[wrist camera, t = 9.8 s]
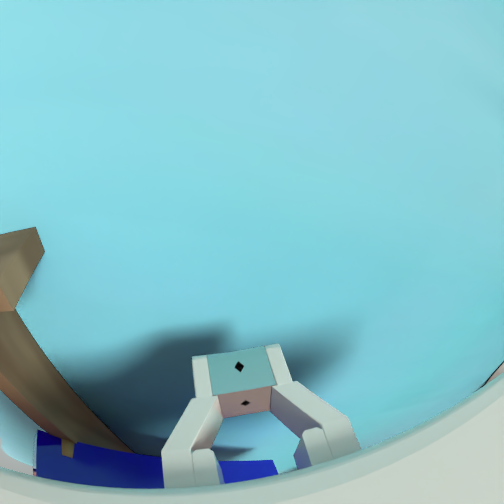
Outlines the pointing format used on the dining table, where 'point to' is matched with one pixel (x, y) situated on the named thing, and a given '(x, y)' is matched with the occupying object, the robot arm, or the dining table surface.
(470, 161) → the dining table surface
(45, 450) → the mounting bracket
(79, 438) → the handle
